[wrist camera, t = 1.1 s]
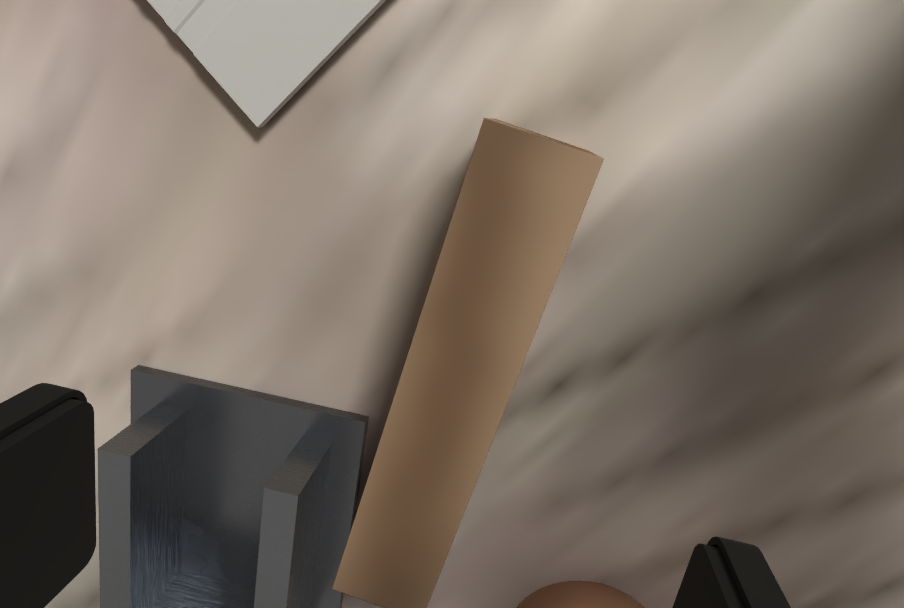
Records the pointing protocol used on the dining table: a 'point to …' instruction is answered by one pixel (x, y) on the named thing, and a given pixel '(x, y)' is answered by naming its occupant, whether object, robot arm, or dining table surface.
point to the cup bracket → (225, 498)
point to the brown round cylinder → (579, 597)
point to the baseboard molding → (264, 43)
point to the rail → (465, 358)
